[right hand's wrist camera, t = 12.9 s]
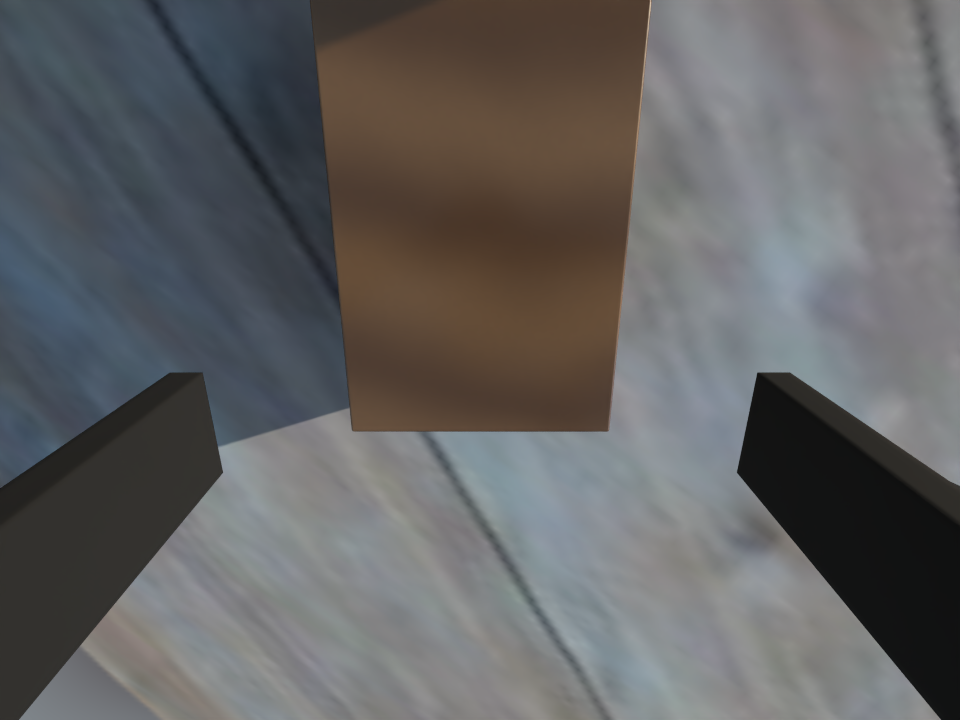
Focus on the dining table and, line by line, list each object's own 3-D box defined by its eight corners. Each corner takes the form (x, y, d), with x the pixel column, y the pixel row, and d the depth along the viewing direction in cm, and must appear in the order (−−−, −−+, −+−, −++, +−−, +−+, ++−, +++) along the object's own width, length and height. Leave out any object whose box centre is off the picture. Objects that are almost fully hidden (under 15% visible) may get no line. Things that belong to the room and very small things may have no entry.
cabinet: (373, 7, 25) (299, -100, 15) (587, 7, 25) (662, -100, 15) (393, 343, 31) (351, 432, 21) (566, 343, 31) (609, 432, 21)
